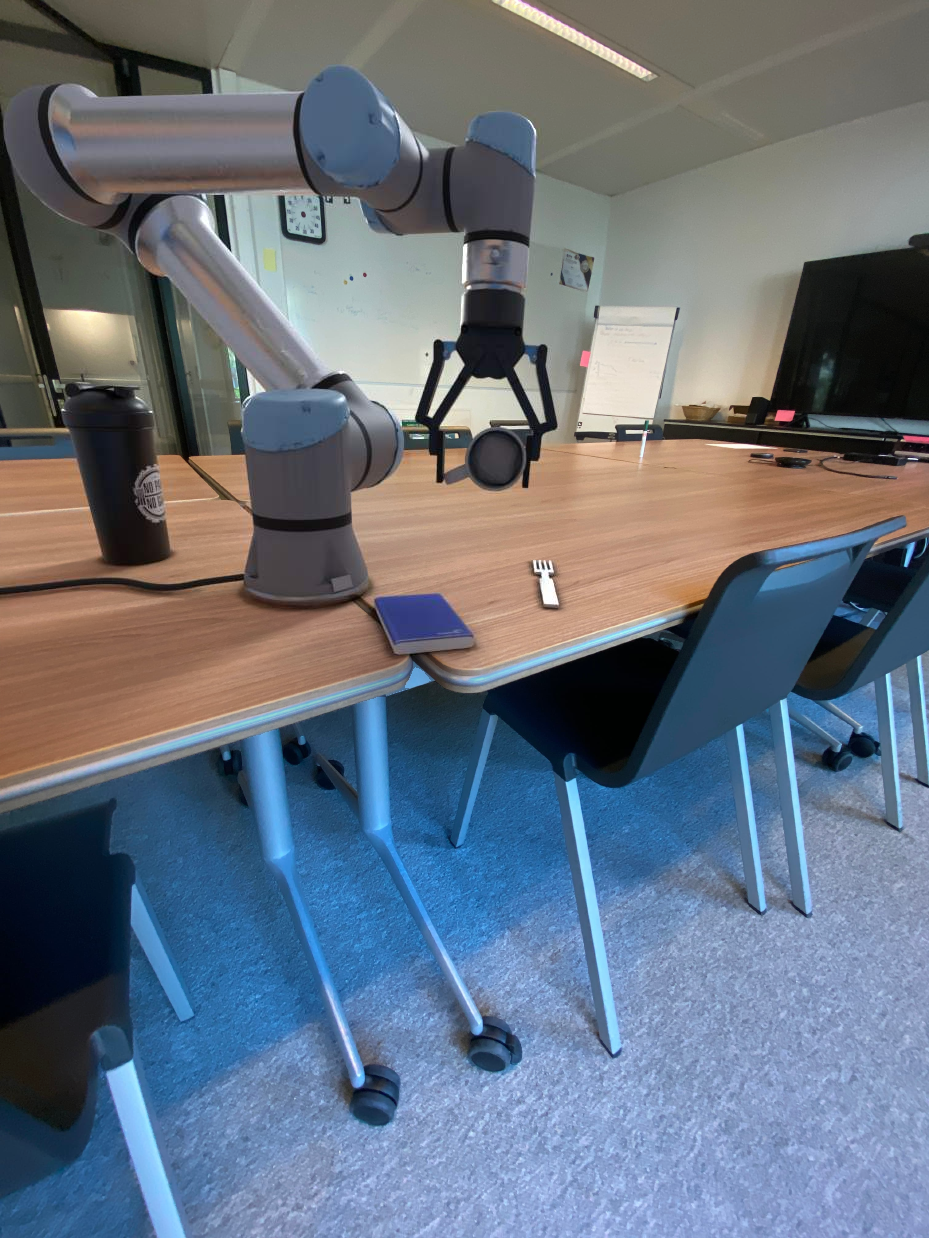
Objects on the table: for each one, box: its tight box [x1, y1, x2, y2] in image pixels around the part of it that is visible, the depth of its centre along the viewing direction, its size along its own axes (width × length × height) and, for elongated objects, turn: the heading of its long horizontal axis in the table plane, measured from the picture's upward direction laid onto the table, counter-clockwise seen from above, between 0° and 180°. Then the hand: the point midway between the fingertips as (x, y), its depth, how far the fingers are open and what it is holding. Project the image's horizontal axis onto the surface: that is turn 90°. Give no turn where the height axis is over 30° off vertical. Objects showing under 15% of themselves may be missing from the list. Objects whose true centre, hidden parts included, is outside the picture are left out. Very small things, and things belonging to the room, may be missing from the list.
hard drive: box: [373, 592, 475, 655], centre depth 58 cm, size 2×8×12 cm
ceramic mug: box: [443, 426, 526, 492], centre depth 70 cm, size 11×8×8 cm
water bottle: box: [60, 381, 172, 566], centre depth 73 cm, size 10×10×23 cm
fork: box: [532, 559, 560, 609], centre depth 74 cm, size 3×19×1 cm, turn 176°
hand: (482, 484), depth 71 cm, fingers closed on ceramic mug, 11 cm apart
